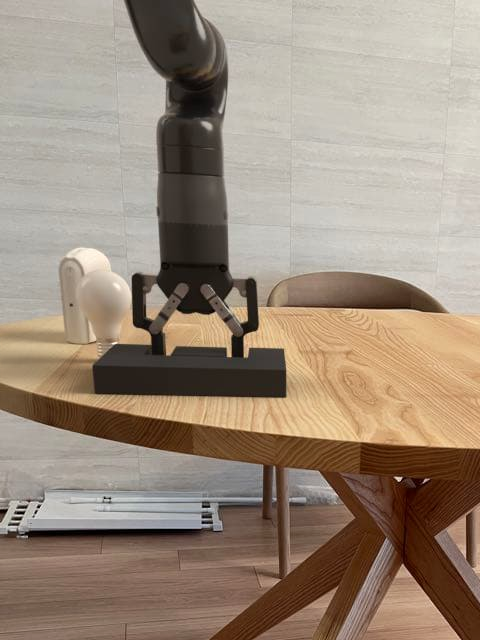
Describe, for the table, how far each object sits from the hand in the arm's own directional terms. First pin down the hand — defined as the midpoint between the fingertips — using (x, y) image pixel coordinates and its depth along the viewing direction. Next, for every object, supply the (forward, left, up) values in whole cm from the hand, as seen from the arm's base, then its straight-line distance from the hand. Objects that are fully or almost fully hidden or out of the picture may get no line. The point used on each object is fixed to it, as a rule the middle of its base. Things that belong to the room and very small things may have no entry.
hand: (198, 366), depth 97 cm
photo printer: (-17, +25, -1) cm, 31 cm away
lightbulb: (-12, +8, -1) cm, 14 cm away
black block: (0, 0, -1) cm, 1 cm away
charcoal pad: (0, -4, -1) cm, 4 cm away
